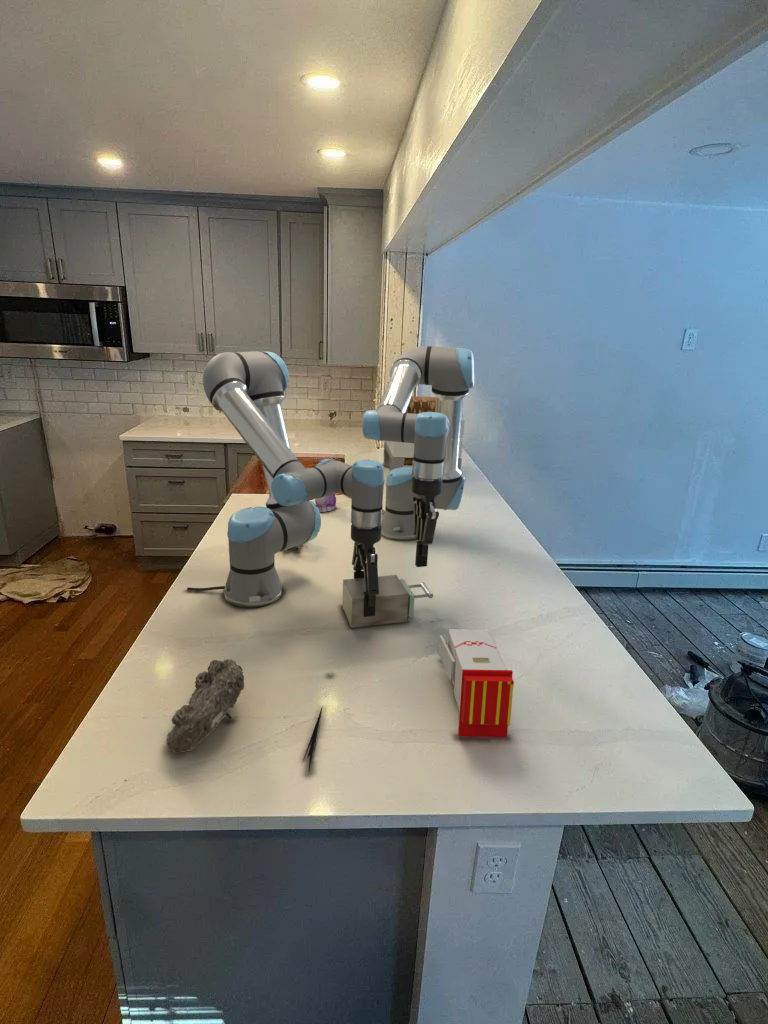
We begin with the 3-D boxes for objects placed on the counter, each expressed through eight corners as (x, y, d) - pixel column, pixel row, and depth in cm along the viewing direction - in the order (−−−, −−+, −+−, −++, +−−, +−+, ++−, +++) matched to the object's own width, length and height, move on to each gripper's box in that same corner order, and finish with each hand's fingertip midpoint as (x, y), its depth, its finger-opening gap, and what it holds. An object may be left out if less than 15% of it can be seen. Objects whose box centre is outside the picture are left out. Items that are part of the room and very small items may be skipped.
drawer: (422, 596, 155) (423, 576, 153) (434, 614, 146) (436, 593, 144) (354, 603, 150) (354, 582, 148) (362, 621, 141) (363, 600, 139)
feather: (331, 679, 122) (336, 673, 122) (307, 777, 96) (313, 769, 95) (324, 675, 122) (329, 669, 121) (298, 772, 95) (304, 764, 95)
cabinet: (394, 601, 154) (396, 574, 151) (406, 621, 144) (408, 593, 141) (342, 606, 150) (342, 579, 147) (351, 627, 140) (352, 599, 137)
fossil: (192, 660, 117) (244, 628, 112) (224, 691, 120) (276, 661, 115) (142, 746, 98) (202, 712, 93) (182, 779, 101) (242, 748, 96)
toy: (488, 613, 130) (523, 677, 101) (484, 667, 133) (517, 744, 104) (435, 612, 130) (455, 676, 101) (432, 666, 133) (451, 743, 103)
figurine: (318, 514, 215) (318, 476, 210) (309, 505, 223) (309, 469, 218) (341, 511, 219) (342, 473, 214) (331, 503, 227) (331, 467, 222)
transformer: (382, 463, 289) (386, 382, 275) (445, 464, 293) (451, 384, 279) (390, 482, 257) (394, 392, 243) (460, 483, 261) (468, 394, 247)
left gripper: (395, 541, 128) (390, 626, 136) (369, 507, 149) (366, 582, 157) (362, 543, 126) (360, 629, 134) (341, 509, 147) (340, 585, 155)
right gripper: (451, 484, 133) (443, 575, 141) (432, 469, 145) (426, 554, 152) (421, 485, 131) (415, 577, 139) (404, 470, 143) (399, 556, 150)
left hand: (363, 604), depth 145 cm, fingers closed on cabinet, 11 cm apart
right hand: (421, 565), depth 146 cm, fingers closed
